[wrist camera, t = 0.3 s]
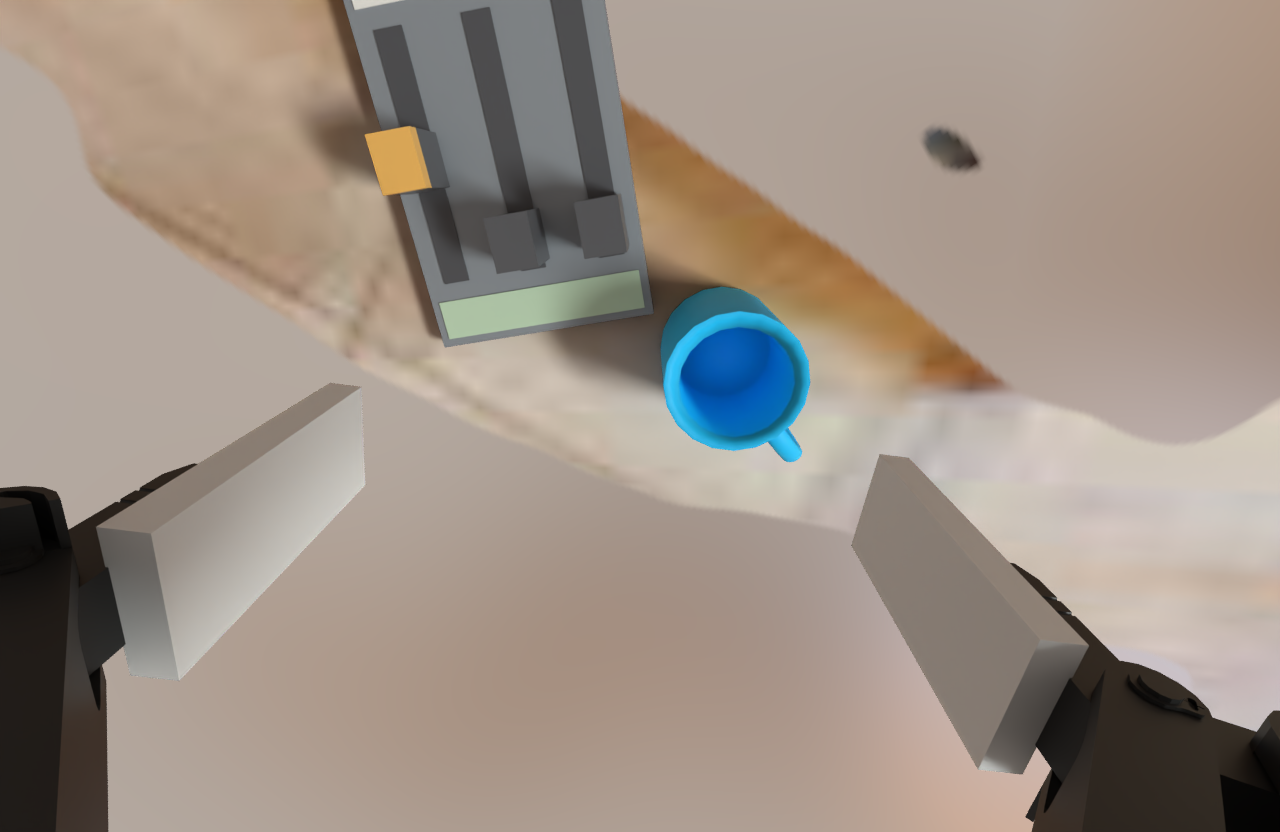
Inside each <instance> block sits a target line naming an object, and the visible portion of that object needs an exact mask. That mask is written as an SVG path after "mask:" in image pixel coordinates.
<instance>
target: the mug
mask: <svg viewBox="0 0 1280 832" xmlns="http://www.w3.org/2000/svg"><path fill="white" fill-rule="evenodd" d="M661 361H662V375H663V386H664V392H665V398H666V404H667V407H668V409H669V411H670V413H671V415H672V416H673V418H674V420H675V422H676V424H677V425H678V426H679V427H680V428H681V429H682V430H683V431H685V432H686V433H687V434H688V435H689V436H690V437H691V438H692V439H694V440H696V441H698V442H700V443H703V444H705V445H707V446H709V447H711V448H717V449H725V450H732V451H735V450H742V449H748V448H754V447H758V446H760V445H762V444H764V443H766V442H768V443H769V444H770V445H771V446H772V447H773V449H774V450H775V451H776V452H777V454H778V455H779V456H780V457H781V458H782V459H783V460H784V461H787V462H794V461H796V460H798V459H799V458H800V457H801V455H802V450H801V448H800V446H799V444H798V443H797V441H796V439H795V438H794V436H793V435H792V433H791V432H790V430H789V428H788V427H789V426H790V425H791V424H793V422H794V421H795V419H796V418H797V416H798V414H799V413H800V411H801V410H802V408H803V406H804V405H805V402H806V398H807V394H808V390H809V386H810V374H809V361H808V359H807V357H806V354H805V352H804V350H803V348H802V345H801V343H800V341H799V340H798V339H797V338H796V337H795V336H794V335H793V334H792V333H791V332H790V331H789V330H788V329H787V328H786V327H785V325H784V324H783V323H782V322H781V321H780V320H779V319H778V318H777V317H776V316H775V315H774V314H773V313H772V312H771V311H770V310H769V309H768V308H767V307H766V306H765V305H764V304H763V303H762V302H761V301H760V300H759V299H758V298H757V297H755V296H753V295H751V294H749V293H747V292H745V291H743V290H741V289H735V288H728V287H717V288H711V289H706V290H702V291H700V292H698V293H696V294H694V295H692V296H690V297H689V298H687V299H685V300H684V301H683V302H682V303H681V304H680V305H679V306H678V307H677V308H676V309H675V310H674V311H673V312H672V313H671V315H670V317H669V319H668V321H667V323H666V325H665V327H664V329H663V335H662V341H661Z"/></svg>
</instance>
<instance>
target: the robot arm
mask: <svg viewBox="0 0 1280 832" xmlns="http://www.w3.org/2000/svg"><path fill="white" fill-rule="evenodd" d="M364 486H365V468H364V442H363V417H362V390H361V387H358V386H350V385H343V384H335V383H329V384H328V385H326V386H324V387H323V388H321V389H319V390H318V391H316V392H314V393H313V394H311V395H310V396H308V397H306V398H305V399H303V400H302V401H300V402H298V403H297V404H295V405H293V406H292V407H290V408H288V409H287V410H286V411H284V412H282V413H280V414H279V415H277V416H275V417H274V418H272V419H271V420H269V421H267V422H266V423H264V424H262V425H261V426H259V427H258V428H256V429H254V430H253V431H251V432H249V433H248V434H246V435H245V436H243V437H241V438H240V439H238V440H237V441H235V442H233V443H232V444H230V445H229V446H227V447H225V448H223V449H222V450H220V451H219V452H217V453H215V454H214V455H212V456H210V457H209V458H207V459H206V460H204V461H203V462H201V463H199V464H191V465H188V466H185V467H182V468H179V469H176V470H173V471H171V472H167V473H164V474H162V475H161V476H159V477H157V478H155V479H154V480H152V481H150V482H149V483H147V484H145V485H144V486H142V487H141V488H140V490H139V491H134V492H132V493H130V494H128V495H127V496H125V497H123V498H122V499H121V501H120V502H115V503H113V504H112V505H110V506H108V507H106V508H105V509H103V510H101V511H100V512H98V513H96V514H94V515H93V516H91V517H89V518H88V519H86V520H84V521H83V522H81V523H79V524H78V525H76V526H74V527H73V528H71V529H69V530H68V528H67V523H66V519H65V516H64V512H63V508H62V504H61V500H60V498H59V496H58V494H57V492H56V491H53V490H50V489H47V488H44V487H30V486H20V487H10V488H9V487H8V488H0V832H108V785H107V784H108V782H107V781H108V778H107V777H108V775H107V707H106V706H107V703H106V679H105V675H104V671H103V667H102V664H103V663H104V662H106V661H107V660H108V659H109V658H110V657H111V656H112V655H113V654H115V653H116V652H117V651H118V650H119V649H121V648H122V647H123V646H124V650H125V655H126V659H127V664H128V668H129V672H130V675H131V676H141V677H149V678H158V679H168V680H177V681H179V680H181V678H182V677H183V676H184V675H185V674H186V673H187V672H188V671H189V670H190V669H191V668H192V667H193V666H194V664H196V663H197V662H198V660H200V658H201V657H202V656H203V655H204V654H205V653H206V652H207V651H208V650H209V649H210V648H211V647H212V646H213V644H215V643H216V642H217V641H218V639H219V638H220V637H221V636H222V635H223V634H224V633H225V632H226V631H227V630H228V629H229V628H230V627H231V626H232V625H233V624H234V623H235V622H236V620H237V619H238V618H239V617H240V616H241V615H242V614H243V613H244V612H245V611H246V610H247V609H248V608H249V607H250V606H251V605H252V604H253V602H255V600H257V598H258V597H259V596H260V595H261V594H262V593H263V592H264V591H265V590H266V589H267V588H268V587H269V586H270V585H271V584H272V583H273V581H274V580H276V578H277V577H278V576H279V575H280V574H281V573H282V572H283V571H284V570H285V569H286V568H287V567H288V566H289V565H290V564H291V563H292V562H293V561H294V560H295V559H296V557H297V556H298V555H299V554H300V553H301V552H302V551H303V550H304V549H305V548H306V547H307V546H308V545H309V544H310V543H311V542H312V541H313V540H314V538H315V537H316V536H317V535H318V534H319V533H320V532H321V531H322V530H323V529H324V528H325V527H326V526H327V525H328V524H329V523H330V522H331V521H332V519H334V517H335V516H336V515H337V514H338V513H339V512H340V511H341V510H342V509H343V508H344V507H345V506H346V505H347V504H348V503H349V501H351V500H352V499H353V497H354V496H355V495H356V494H357V493H358V492H359V491H360V490H361V489H362V488H363V487H364ZM851 546H852V547H853V549H854V551H855V553H856V555H857V556H858V558H859V559H860V561H861V563H862V565H863V567H864V569H865V570H866V572H867V574H868V576H869V577H870V579H871V581H872V583H873V585H874V586H875V588H876V590H877V592H878V593H879V595H880V597H881V599H882V601H883V602H884V604H885V606H886V607H887V609H888V611H889V613H890V614H891V616H892V618H893V620H894V622H895V623H896V625H897V627H898V629H899V630H900V632H901V634H902V636H903V638H904V639H905V641H906V643H907V645H908V646H909V648H910V650H911V652H912V654H913V655H914V657H915V659H916V661H917V662H918V664H919V666H920V668H921V669H922V671H923V673H924V675H925V676H926V678H927V680H928V682H929V684H930V685H931V687H932V689H933V690H934V692H935V694H936V696H937V698H938V699H939V701H940V703H941V705H942V707H943V708H944V710H945V712H946V714H947V715H948V717H949V719H950V721H951V722H952V724H953V726H954V728H955V729H956V731H957V733H958V735H959V737H960V738H961V740H962V742H963V743H964V745H965V747H966V749H967V751H968V752H969V754H970V756H971V758H972V760H973V761H974V763H975V765H976V767H977V768H978V769H979V770H987V771H996V772H1005V773H1014V774H1023V772H1024V770H1025V768H1026V767H1027V764H1028V763H1029V761H1030V759H1031V757H1032V755H1033V753H1034V751H1035V749H1036V747H1037V748H1038V749H1039V751H1040V752H1041V754H1042V755H1043V756H1044V758H1045V760H1046V761H1047V762H1048V764H1049V765H1050V767H1051V770H1050V772H1049V774H1048V776H1047V778H1046V780H1045V781H1044V783H1043V785H1042V787H1041V789H1040V791H1039V792H1038V794H1037V796H1036V798H1035V800H1034V802H1033V804H1032V805H1031V807H1030V809H1029V811H1028V813H1027V815H1026V818H1028V819H1029V820H1031V821H1032V822H1033V821H1034V824H1033V828H1032V832H1280V711H1273V712H1272V713H1271V714H1270V715H1269V716H1268V717H1267V718H1266V720H1265V721H1264V722H1263V724H1262V725H1261V727H1260V728H1259V730H1258V731H1257V732H1255V731H1252V730H1249V729H1246V728H1243V727H1240V726H1237V725H1234V724H1230V723H1227V722H1224V721H1221V720H1218V719H1215V718H1212V716H1211V713H1210V711H1209V709H1208V708H1207V707H1206V706H1205V705H1204V704H1203V703H1202V702H1201V701H1200V700H1199V699H1198V698H1197V697H1196V696H1195V695H1194V694H1193V693H1191V692H1190V691H1189V690H1187V689H1186V688H1185V687H1183V686H1182V685H1180V684H1179V683H1177V682H1176V681H1174V680H1172V679H1170V678H1168V677H1166V676H1165V675H1163V674H1161V673H1159V672H1157V671H1155V670H1152V669H1149V668H1147V667H1144V666H1142V665H1139V664H1134V663H1130V662H1124V661H1119V660H1118V659H1117V658H1116V657H1115V656H1114V655H1113V654H1112V653H1111V652H1110V651H1109V650H1108V649H1107V648H1106V647H1105V646H1104V645H1103V644H1102V643H1101V642H1100V641H1099V640H1098V639H1097V638H1096V637H1095V636H1094V635H1093V634H1092V633H1091V632H1090V631H1089V629H1088V628H1087V627H1086V626H1085V625H1084V624H1083V623H1082V622H1081V621H1080V620H1079V619H1078V618H1077V617H1076V616H1072V615H1071V613H1072V612H1071V611H1070V610H1069V609H1068V608H1067V607H1066V606H1065V605H1064V604H1063V603H1062V602H1061V601H1057V597H1056V596H1055V595H1054V594H1053V593H1052V592H1051V591H1050V590H1049V589H1048V588H1047V587H1046V586H1045V585H1044V584H1043V583H1042V582H1041V581H1040V580H1038V579H1037V578H1035V577H1034V576H1032V575H1031V574H1029V573H1028V572H1026V571H1025V570H1023V569H1022V568H1020V567H1019V566H1017V565H1016V564H1014V563H1009V562H1008V561H1007V560H1006V559H1005V558H1004V557H1003V555H1002V554H1001V553H1000V552H999V551H998V550H997V549H996V548H995V547H994V546H993V545H992V544H991V543H990V542H989V541H988V540H987V539H986V538H985V537H984V536H983V535H982V534H981V533H980V532H979V530H978V529H977V528H976V527H975V526H974V525H973V524H972V523H971V522H970V521H969V520H968V519H967V518H966V517H965V516H964V515H963V514H962V513H961V512H960V511H959V510H958V509H957V508H956V507H955V506H954V504H953V503H952V502H951V501H950V500H949V499H948V498H947V497H946V496H945V495H944V494H943V493H942V492H941V491H940V490H939V489H938V488H937V487H936V486H935V485H934V484H933V483H932V482H931V481H930V479H929V478H928V477H927V476H926V475H925V474H924V473H923V472H922V471H921V470H920V469H919V468H918V467H917V466H916V465H915V464H914V463H913V462H912V461H911V460H910V459H909V458H905V457H897V456H890V455H882V454H880V455H879V458H878V461H877V464H876V468H875V471H874V474H873V477H872V480H871V484H870V487H869V490H868V493H867V497H866V500H865V503H864V506H863V509H862V513H861V516H860V519H859V522H858V526H857V529H856V532H855V535H854V539H853V542H852V545H851Z"/></svg>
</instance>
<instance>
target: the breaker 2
mask: <svg viewBox="0 0 1280 832" xmlns="http://www.w3.org/2000/svg"><path fill="white" fill-rule="evenodd" d="M574 208H575V213H576V218H577V223H578V228H579V233H580V239H581V244H582V249H583V254H584V259H589V258H595V257H601V256H607V255H613V254H619V253H624V252H627V251H628V248H629V239H628V233H627V227H626V221H625V215H624V209H623V203H622V197H621V194H615V195H610V196H604V197H598V198H593V199H587V200H581V201H577V202H574Z"/></svg>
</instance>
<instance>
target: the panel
mask: <svg viewBox="0 0 1280 832" xmlns="http://www.w3.org/2000/svg"><path fill="white" fill-rule="evenodd" d="M343 1H344V5H345V8H346V11H347V15H348V18H349V22H350V25H351V28H352V32H353V35H354V39H355V42H356V46H357V49H358V52H359V56H360V59H361V63H362V66H363V69H364V73H365V76H366V80H367V83H368V87H369V90H370V93H371V97H372V100H373V104H374V107H375V110H376V114H377V117H378V121H379V124H380V128H381V131H385V130H391V129H396V128H401V127H406V126H411V127H415V128H419V129H423V130H427V131H431V132H436V136H437V139H438V143H439V147H440V151H441V155H442V158H443V162H444V166H445V170H446V174H447V177H448V181H449V185H450V187H449V188H444V189H438V190H433V191H427V192H422V193H416V194H409V195H400V196H401V199H402V203H403V206H404V210H405V213H406V216H407V220H408V223H409V227H410V230H411V234H412V237H413V240H414V244H415V247H416V251H417V254H418V257H419V261H420V264H421V268H422V271H423V275H424V278H425V281H426V285H427V288H428V292H429V295H430V298H431V302H432V305H433V309H434V312H435V316H436V319H437V322H438V326H439V329H440V333H441V336H442V339H443V343H444V346H445V347H451V346H457V345H463V344H469V343H475V342H482V341H488V340H494V339H500V338H506V337H513V336H519V335H525V334H531V333H537V332H544V331H550V330H556V329H562V328H568V327H574V326H581V325H587V324H593V323H599V322H605V321H612V320H618V319H624V318H630V317H636V316H642V315H649V314H654V311H653V303H652V297H651V291H650V284H649V278H648V272H647V265H646V259H645V253H644V246H643V240H642V234H641V227H640V221H639V214H638V208H637V202H636V195H635V189H634V183H633V176H632V170H631V164H630V157H629V151H628V145H627V138H626V132H625V126H624V119H623V113H622V107H621V100H620V94H619V88H618V82H617V75H616V70H615V62H614V56H613V50H612V43H611V37H610V31H609V24H608V18H607V12H606V5H605V0H343ZM615 194H621V197H622V203H623V209H624V215H625V221H626V227H627V233H628V239H629V248H628V251H627V252H624V253H619V254H613V255H607V256H601V257H595V258H589V259H584V254H583V249H582V244H581V239H580V233H579V228H578V223H577V218H576V213H575V208H574V202H577V201H581V200H587V199H593V198H598V197H604V196H610V195H615ZM536 208H539V209H540V214H541V218H542V223H543V228H544V232H545V237H546V242H547V246H548V251H549V256H550V259H549V260H547V261H546V262H545V263H543V264H542V265H541V266H539V267H536V268H530V269H524V270H518V271H513V272H507V273H501V274H497V272H496V268H495V264H494V260H493V256H492V252H491V248H490V244H489V240H488V236H487V232H486V228H485V224H484V220H483V218H487V217H492V216H497V215H502V214H508V213H514V212H519V211H525V210H531V209H536Z"/></svg>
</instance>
